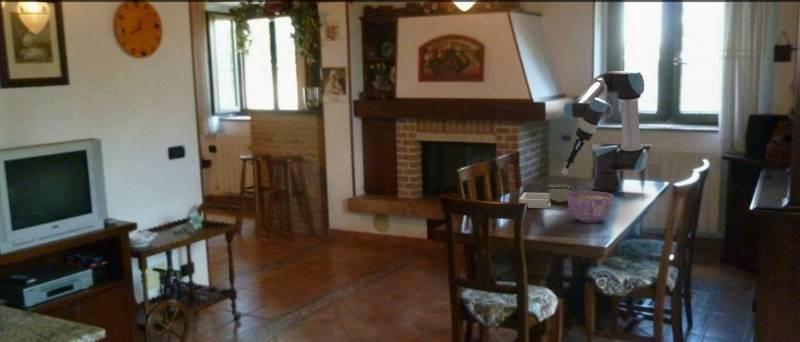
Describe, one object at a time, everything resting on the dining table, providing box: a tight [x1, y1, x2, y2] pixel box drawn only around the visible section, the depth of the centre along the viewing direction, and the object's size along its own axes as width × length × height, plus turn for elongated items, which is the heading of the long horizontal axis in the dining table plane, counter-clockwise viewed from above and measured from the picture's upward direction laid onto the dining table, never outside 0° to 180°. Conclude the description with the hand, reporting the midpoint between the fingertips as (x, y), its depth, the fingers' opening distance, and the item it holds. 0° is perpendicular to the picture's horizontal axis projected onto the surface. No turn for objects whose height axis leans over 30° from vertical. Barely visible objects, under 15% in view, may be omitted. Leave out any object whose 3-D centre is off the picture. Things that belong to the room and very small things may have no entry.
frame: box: [518, 192, 550, 209], centre depth 368 cm, size 14×18×4 cm
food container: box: [547, 183, 574, 208], centre depth 364 cm, size 12×6×10 cm, turn 71°
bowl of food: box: [566, 190, 614, 224], centre depth 327 cm, size 20×20×12 cm
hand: (563, 173), depth 356 cm, fingers closed
